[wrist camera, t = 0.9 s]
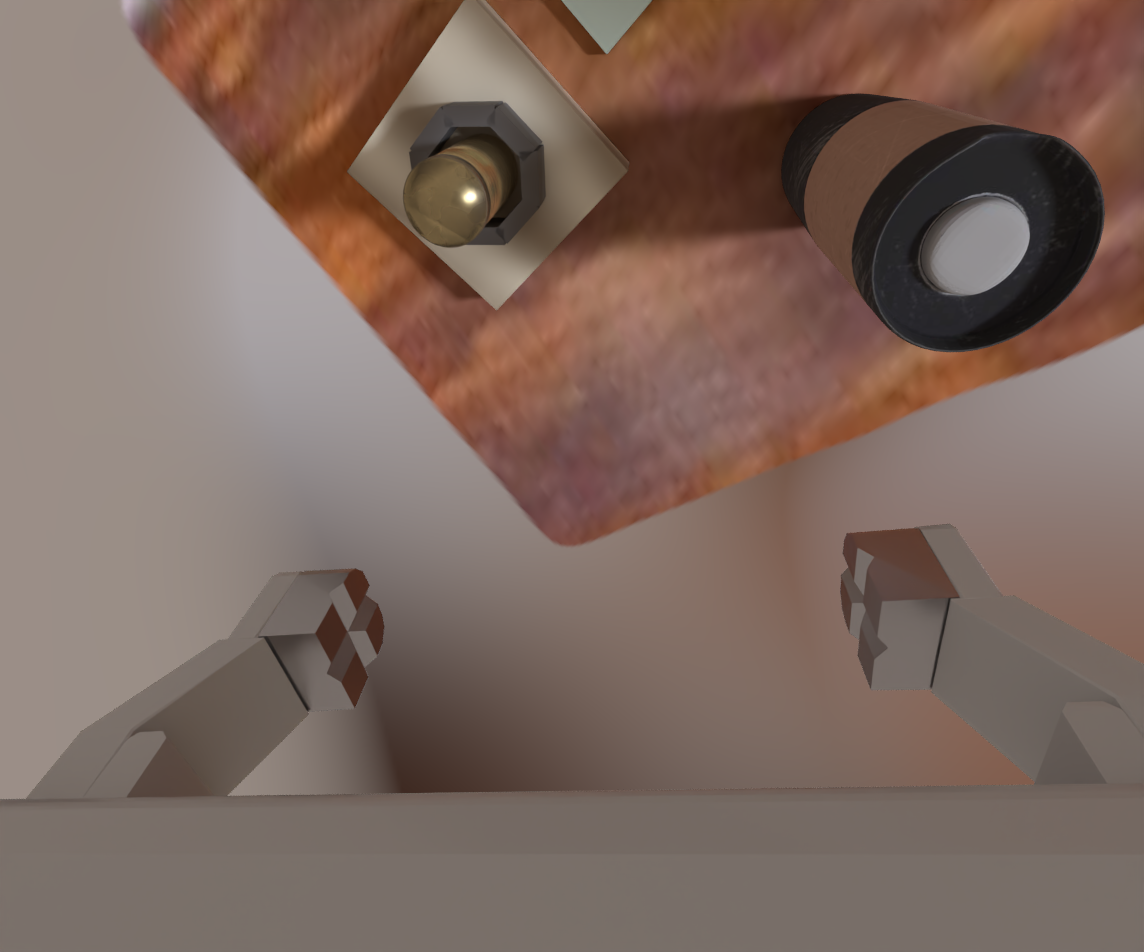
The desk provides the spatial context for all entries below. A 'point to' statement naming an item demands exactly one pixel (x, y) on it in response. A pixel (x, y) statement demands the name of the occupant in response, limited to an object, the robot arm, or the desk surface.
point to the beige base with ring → (514, 115)
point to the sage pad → (606, 18)
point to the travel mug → (944, 216)
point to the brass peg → (460, 190)
